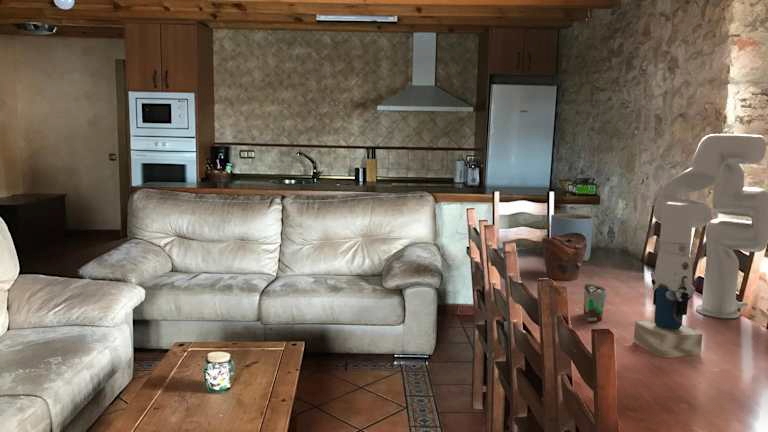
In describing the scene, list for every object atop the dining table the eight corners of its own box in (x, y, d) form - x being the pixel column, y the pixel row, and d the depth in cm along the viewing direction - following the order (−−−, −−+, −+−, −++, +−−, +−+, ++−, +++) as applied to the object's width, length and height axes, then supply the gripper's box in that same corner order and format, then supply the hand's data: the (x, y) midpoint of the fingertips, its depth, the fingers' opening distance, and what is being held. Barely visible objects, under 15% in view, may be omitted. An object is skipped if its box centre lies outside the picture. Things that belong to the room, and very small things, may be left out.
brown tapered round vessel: (535, 279, 237) (538, 235, 235) (542, 269, 256) (545, 228, 253) (582, 285, 231) (586, 240, 228) (585, 274, 249) (589, 232, 247)
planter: (596, 262, 270) (599, 219, 268) (555, 262, 271) (557, 219, 268) (583, 254, 289) (586, 213, 286) (544, 253, 290) (546, 213, 287)
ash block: (671, 339, 171) (673, 319, 170) (700, 355, 159) (702, 334, 158) (633, 341, 169) (635, 321, 168) (660, 357, 157) (661, 336, 156)
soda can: (680, 333, 158) (683, 289, 157) (652, 328, 162) (655, 285, 160) (683, 326, 164) (686, 284, 163) (655, 321, 168) (659, 280, 166)
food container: (608, 325, 182) (610, 294, 181) (587, 324, 184) (589, 293, 182) (602, 313, 194) (604, 284, 193) (582, 312, 196) (584, 283, 194)
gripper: (709, 254, 152) (703, 319, 154) (666, 241, 169) (661, 300, 171) (683, 255, 151) (677, 320, 153) (642, 242, 167) (638, 301, 170)
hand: (669, 309), depth 162 cm, fingers open, 9 cm apart
